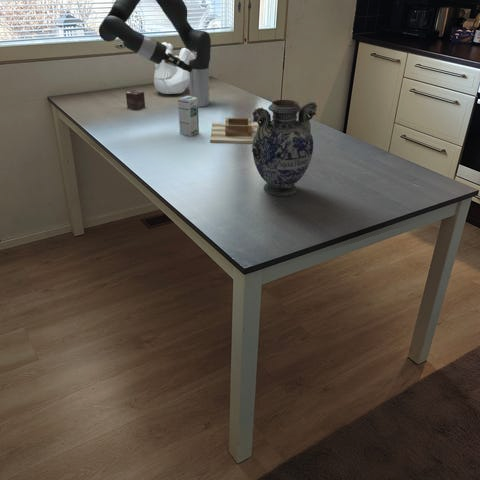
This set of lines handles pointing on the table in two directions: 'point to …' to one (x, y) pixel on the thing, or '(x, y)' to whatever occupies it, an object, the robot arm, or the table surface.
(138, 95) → the box
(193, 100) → the syrup box
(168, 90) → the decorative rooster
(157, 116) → the table surface
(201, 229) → the table surface
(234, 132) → the socket board
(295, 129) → the decorative vase
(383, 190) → the table surface
